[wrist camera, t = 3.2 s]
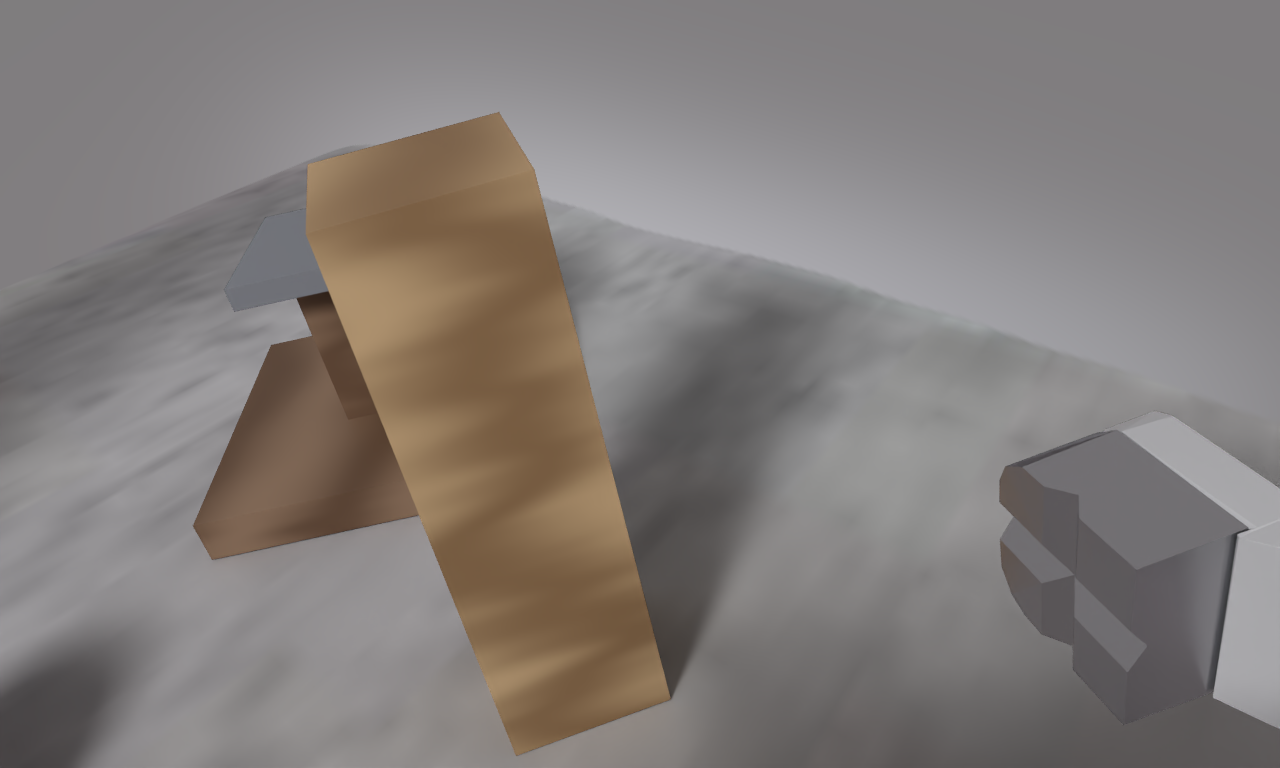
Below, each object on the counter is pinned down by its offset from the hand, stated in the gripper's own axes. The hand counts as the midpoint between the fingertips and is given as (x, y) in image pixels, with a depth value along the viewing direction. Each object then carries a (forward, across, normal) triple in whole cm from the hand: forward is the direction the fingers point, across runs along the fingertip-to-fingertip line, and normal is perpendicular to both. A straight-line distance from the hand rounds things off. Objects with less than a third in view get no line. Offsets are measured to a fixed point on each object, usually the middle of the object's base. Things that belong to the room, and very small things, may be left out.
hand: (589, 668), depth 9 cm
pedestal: (+27, +4, +13) cm, 30 cm away
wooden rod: (+13, 0, +13) cm, 18 cm away
